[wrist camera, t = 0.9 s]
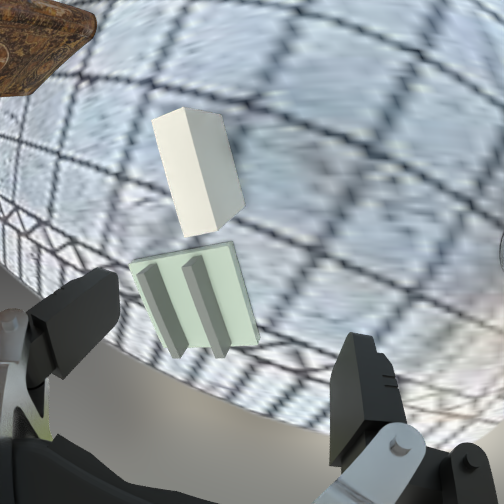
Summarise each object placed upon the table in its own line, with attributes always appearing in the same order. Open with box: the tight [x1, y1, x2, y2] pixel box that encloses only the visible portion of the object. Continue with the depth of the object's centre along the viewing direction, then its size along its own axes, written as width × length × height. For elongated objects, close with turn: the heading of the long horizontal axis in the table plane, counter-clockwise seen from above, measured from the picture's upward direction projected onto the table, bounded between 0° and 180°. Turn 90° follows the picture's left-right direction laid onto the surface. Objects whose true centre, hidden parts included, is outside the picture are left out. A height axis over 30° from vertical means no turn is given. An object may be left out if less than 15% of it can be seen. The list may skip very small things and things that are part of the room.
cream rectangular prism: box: [151, 107, 246, 238], centre depth 26 cm, size 3×10×9 cm, turn 15°
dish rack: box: [128, 241, 260, 358], centre depth 35 cm, size 14×13×4 cm
